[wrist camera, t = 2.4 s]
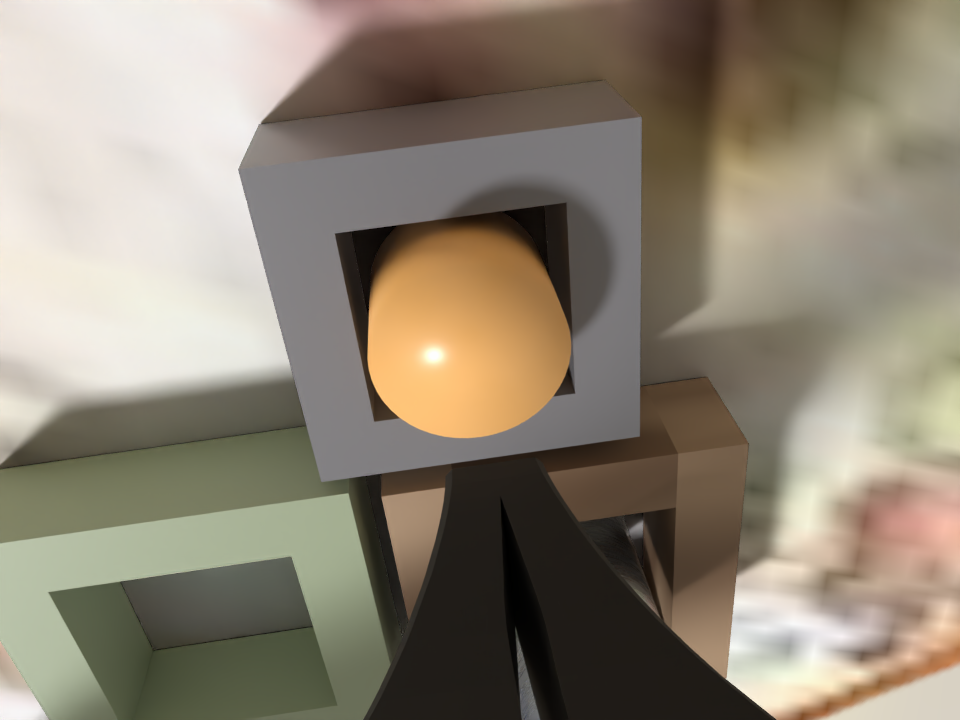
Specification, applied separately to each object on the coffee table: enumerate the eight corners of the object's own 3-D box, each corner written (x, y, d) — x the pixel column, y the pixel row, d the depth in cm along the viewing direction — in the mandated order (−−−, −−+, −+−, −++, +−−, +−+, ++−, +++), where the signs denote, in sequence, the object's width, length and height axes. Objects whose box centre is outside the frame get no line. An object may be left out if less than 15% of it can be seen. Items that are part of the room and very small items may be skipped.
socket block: (694, 601, 27) (726, 678, 25) (425, 641, 27) (430, 723, 24) (707, 377, 22) (748, 443, 20) (381, 423, 22) (381, 496, 20)
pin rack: (404, 650, 27) (407, 732, 24) (116, 693, 27) (88, 781, 24) (352, 419, 22) (348, 493, 19) (-5, 469, 22) (-56, 551, 19)
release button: (549, 348, 20) (574, 423, 17) (385, 371, 20) (385, 450, 17) (539, 190, 18) (566, 249, 15) (354, 215, 17) (349, 278, 15)
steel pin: (619, 558, 26) (704, 808, 19) (494, 576, 26) (535, 835, 19) (618, 460, 24) (713, 701, 17) (482, 479, 24) (522, 732, 17)
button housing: (610, 369, 22) (639, 436, 19) (328, 408, 22) (320, 482, 19) (604, 80, 18) (641, 116, 15) (259, 124, 18) (238, 169, 15)
